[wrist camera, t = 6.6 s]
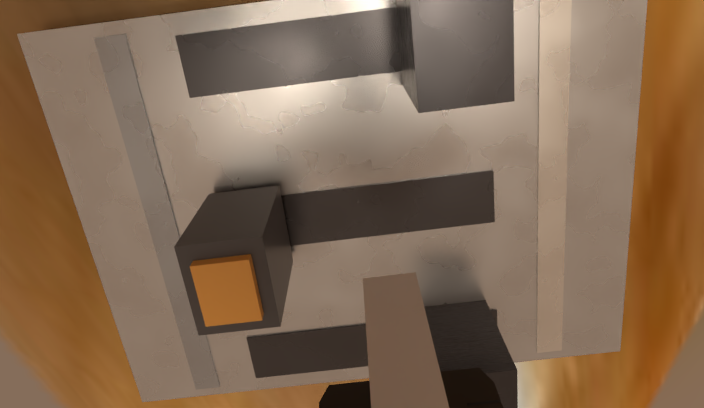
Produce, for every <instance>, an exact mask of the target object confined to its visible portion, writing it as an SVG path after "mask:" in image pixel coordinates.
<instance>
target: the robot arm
mask: <svg viewBox="0 0 704 408" xmlns="http://www.w3.org/2000/svg"><path fill="white" fill-rule="evenodd" d="M363 291H364V306H365V322H366V337H367V352H368V367H369V381H364V382H354V383H345V384H336V385H329V386H328V388H327V390H326V392H325V393H324V395H323V397H322V399H321V400H320V402H319V408H504V407H503V405H502V403H501V399H500V397H499V394H498V391H497V389H496V386H495V383H494V382H493V381H492V380H491V379H490V378H489V377H488V376H487V375H486V374H485V373H484V372H483V371H482V370H481V369H480V368H470V369H461V370H452V371H443V372H440V368H439V364H438V360H437V356H436V352H435V348H434V344H433V340H432V336H431V332H430V328H429V324H428V320H427V316H426V312H425V308H424V304H423V300H422V296H421V292H420V288H419V284H418V280H417V276H416V272H414V273H405V274H397V275H388V276H379V277H371V278H363Z"/></svg>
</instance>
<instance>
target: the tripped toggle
mask: <svg viewBox="0 0 704 408" xmlns="http://www.w3.org/2000/svg"><path fill="white" fill-rule="evenodd" d="M174 249H175V252H176V256H177V259H178V263H179V267H180V270H181V274H182V278H183V281H184V285H185V289H186V292H187V296H188V299H189V303H190V307H191V310H192V314H193V318H194V321H195V325H196V328H197V332H198V336H200V335H209V334H218V333H227V332H236V331H245V330H254V329H263V328H272V327H281V322H282V317H283V312H284V307H285V301H286V296H287V291H288V286H289V280H290V275H291V270H292V265H293V257H292V252H291V246H290V241H289V235H288V230H287V225H286V219H285V214H284V208H283V203H282V198H281V192H280V187H279V185H278V186H269V187H261V188H253V189H244V190H236V191H228V192H219V193H211V194H209V195H208V196H207V198H206V199H205V201H204V202H203V204H202V205H201V207H200V208H199V210H198V211H197V213H196V214H195V216H194V217H193V219H192V220H191V222H190V223H189V225H188V226H187V228H186V229H185V231H184V232H183V234H182V235H181V237H180V238H179V240H178V242H177V243H176V245H175V246H174Z"/></svg>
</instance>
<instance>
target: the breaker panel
mask: <svg viewBox="0 0 704 408" xmlns="http://www.w3.org/2000/svg"><path fill="white" fill-rule="evenodd" d="M646 12H647V0H268V1H260V2H253V3H245V4H238V5H230V6H223V7H215V8H208V9H200V10H192V11H185V12H177V13H170V14H162V15H155V16H147V17H140V18H132V19H125V20H117V21H110V22H102V23H94V24H87V25H79V26H72V27H64V28H57V29H49V30H42V31H35V32H28V33H21V34H17V36H18V39H19V42H20V45H21V48H22V51H23V53H24V56H25V59H26V62H27V65H28V68H29V71H30V74H31V77H32V80H33V83H34V86H35V89H36V92H37V94H38V97H39V100H40V103H41V106H42V109H43V112H44V115H45V118H46V121H47V124H48V127H49V130H50V133H51V135H52V138H53V141H54V144H55V147H56V150H57V153H58V156H59V159H60V162H61V165H62V168H63V171H64V174H65V176H66V179H67V182H68V185H69V188H70V191H71V194H72V197H73V200H74V203H75V206H76V209H77V212H78V215H79V217H80V220H81V223H82V226H83V229H84V232H85V235H86V238H87V241H88V244H89V247H90V250H91V253H92V256H93V258H94V261H95V264H96V267H97V270H98V273H99V276H100V279H101V282H102V285H103V288H104V291H105V294H106V297H107V299H108V302H109V305H110V308H111V311H112V314H113V317H114V320H115V323H116V326H117V329H118V332H119V335H120V338H121V340H122V343H123V346H124V349H125V352H126V355H127V358H128V361H129V364H130V367H131V370H132V373H133V376H134V379H135V381H136V384H137V387H138V390H139V393H140V396H141V399H142V402H148V401H158V400H167V399H176V398H186V397H195V396H204V395H214V394H223V393H233V392H242V391H251V390H261V389H270V388H279V387H289V386H298V385H307V384H317V383H326V382H335V381H345V380H354V379H363V378H369V367H368V352H367V337H366V322H365V306H364V291H363V278H371V277H379V276H388V275H397V274H405V273H414V272H416V276H417V280H418V284H419V288H420V292H421V296H422V300H423V304H424V308H425V312H426V316H427V320H428V324H429V328H430V332H431V336H432V340H433V344H434V348H435V352H436V356H437V360H438V364H439V368H440V372H443V371H452V370H461V369H470V368H480V369H481V370H482V371H483V372H484V373H485V374H486V375H487V376H488V377H489V378H490V379H491V380H492V381H493V382H494V383H495V386H496V389H497V391H498V394H499V397H500V399H501V403H502V405H503V407H504V408H517V369H516V366H515V364H514V362H522V361H532V360H541V359H550V358H560V357H569V356H578V355H588V354H597V353H606V352H616V351H620V347H621V334H622V321H623V308H624V295H625V282H626V269H627V257H628V244H629V231H630V218H631V205H632V192H633V179H634V167H635V154H636V141H637V128H638V115H639V102H640V89H641V76H642V64H643V51H644V38H645V25H646ZM278 185H279V187H280V192H281V198H282V203H283V208H284V214H285V219H286V225H287V230H288V235H289V241H290V246H291V252H292V257H293V265H292V270H291V275H290V280H289V286H288V291H287V296H286V301H285V307H284V312H283V317H282V322H281V327H272V328H263V329H254V330H245V331H236V332H227V333H218V334H209V335H200V336H198V332H197V328H196V325H195V321H194V318H193V314H192V310H191V307H190V303H189V299H188V296H187V292H186V289H185V285H184V281H183V278H182V274H181V270H180V267H179V263H178V259H177V256H176V252H175V249H174V246H175V245H176V243H177V242H178V240H179V238H180V237H181V235H182V234H183V232H184V231H185V229H186V228H187V226H188V225H189V223H190V222H191V220H192V219H193V217H194V216H195V214H196V213H197V211H198V210H199V208H200V207H201V205H202V204H203V202H204V201H205V199H206V198H207V196H208V195H209V194H211V193H219V192H228V191H236V190H244V189H253V188H261V187H269V186H278Z"/></svg>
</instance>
